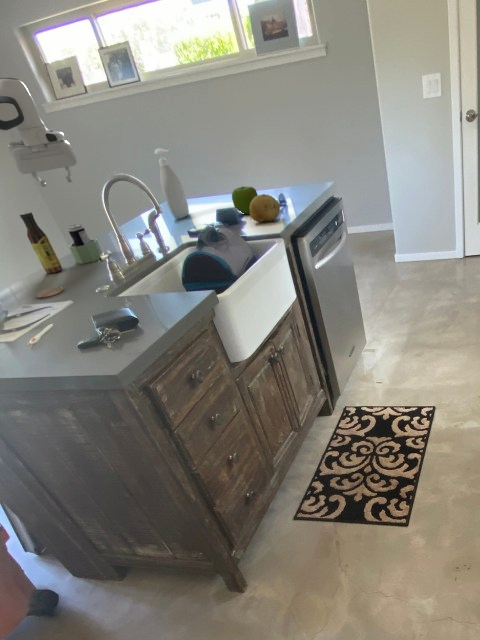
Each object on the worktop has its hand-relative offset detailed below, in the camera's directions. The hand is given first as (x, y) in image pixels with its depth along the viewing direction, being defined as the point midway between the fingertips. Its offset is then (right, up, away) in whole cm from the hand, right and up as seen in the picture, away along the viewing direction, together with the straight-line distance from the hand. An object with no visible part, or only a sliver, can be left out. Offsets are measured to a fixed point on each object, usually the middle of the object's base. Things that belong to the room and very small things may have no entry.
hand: (57, 184), depth 188 cm
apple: (+58, +15, +44) cm, 75 cm away
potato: (+70, +2, +28) cm, 76 cm away
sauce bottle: (-8, -27, +10) cm, 30 cm away
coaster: (+4, -44, -10) cm, 46 cm away
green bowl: (+2, -19, +17) cm, 26 cm away
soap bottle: (+24, +20, +55) cm, 64 cm away
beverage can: (+2, -19, +18) cm, 26 cm away
